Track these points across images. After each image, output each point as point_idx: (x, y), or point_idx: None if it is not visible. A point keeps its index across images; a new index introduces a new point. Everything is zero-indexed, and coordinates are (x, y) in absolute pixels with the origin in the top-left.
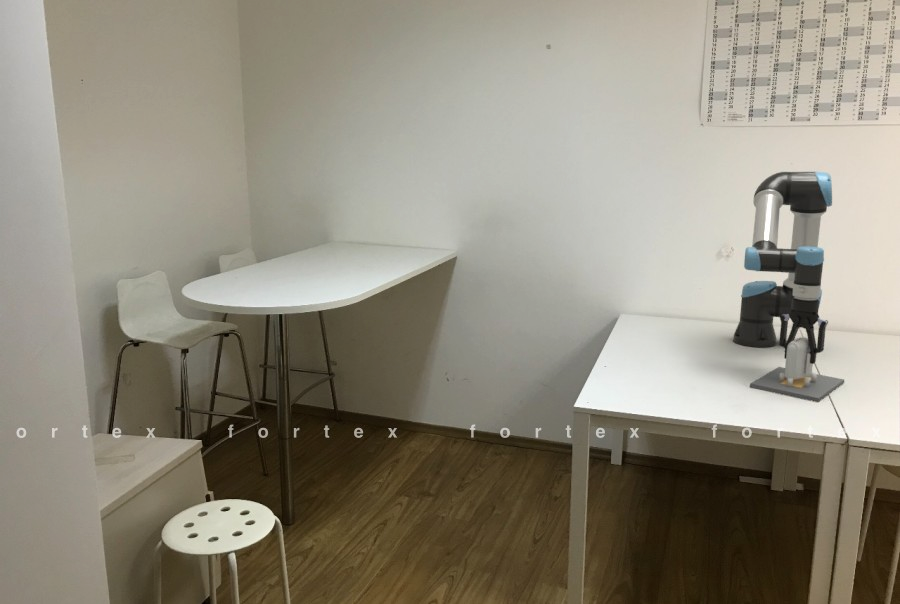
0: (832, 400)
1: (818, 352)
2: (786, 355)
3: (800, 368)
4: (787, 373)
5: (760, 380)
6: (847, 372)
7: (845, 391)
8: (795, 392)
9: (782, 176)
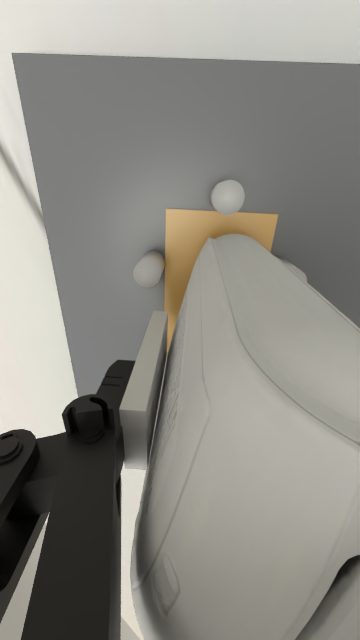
0: (4, 169)
1: (21, 432)
2: (345, 317)
3: (189, 295)
4: (262, 246)
5: None
6: (125, 496)
7: (41, 337)
8: (162, 80)
9: None
